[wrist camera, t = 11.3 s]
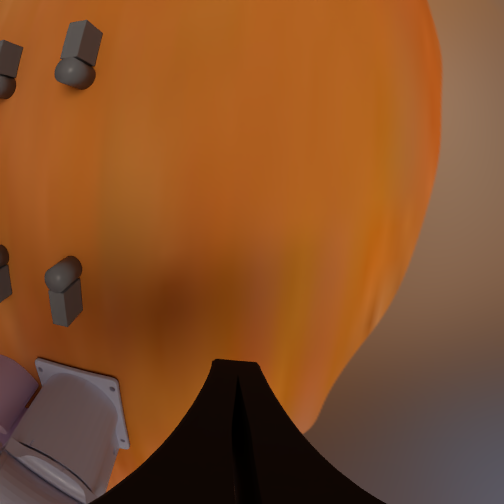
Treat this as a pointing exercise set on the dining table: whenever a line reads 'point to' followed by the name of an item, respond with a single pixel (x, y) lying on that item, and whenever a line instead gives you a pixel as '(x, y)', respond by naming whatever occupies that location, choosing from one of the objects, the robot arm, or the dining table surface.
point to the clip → (13, 395)
